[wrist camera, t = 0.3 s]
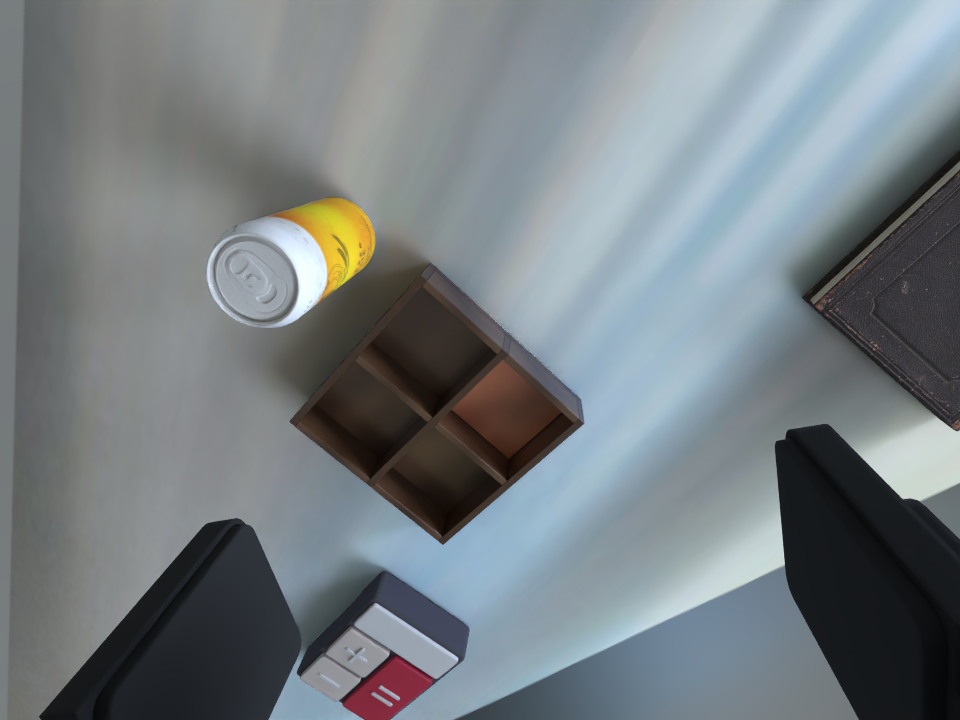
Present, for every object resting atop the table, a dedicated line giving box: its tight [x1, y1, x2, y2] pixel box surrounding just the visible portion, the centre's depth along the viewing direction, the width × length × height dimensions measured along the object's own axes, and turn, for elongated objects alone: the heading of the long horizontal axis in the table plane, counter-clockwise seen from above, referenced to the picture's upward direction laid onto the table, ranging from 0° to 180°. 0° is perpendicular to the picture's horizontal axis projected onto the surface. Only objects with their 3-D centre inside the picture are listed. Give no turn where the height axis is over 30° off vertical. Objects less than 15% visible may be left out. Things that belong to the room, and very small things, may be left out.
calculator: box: [297, 571, 469, 720], centre depth 59 cm, size 11×4×15 cm
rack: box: [290, 263, 584, 544], centre depth 48 cm, size 17×17×4 cm
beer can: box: [206, 197, 375, 328], centre depth 39 cm, size 6×6×15 cm
